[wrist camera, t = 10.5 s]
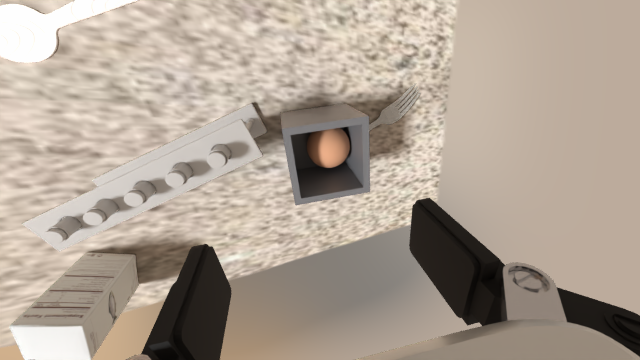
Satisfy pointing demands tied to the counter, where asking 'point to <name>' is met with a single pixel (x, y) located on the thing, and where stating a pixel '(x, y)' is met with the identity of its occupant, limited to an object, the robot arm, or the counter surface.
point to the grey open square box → (318, 180)
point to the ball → (328, 147)
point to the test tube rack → (154, 178)
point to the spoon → (43, 27)
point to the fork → (395, 109)
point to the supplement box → (77, 309)
